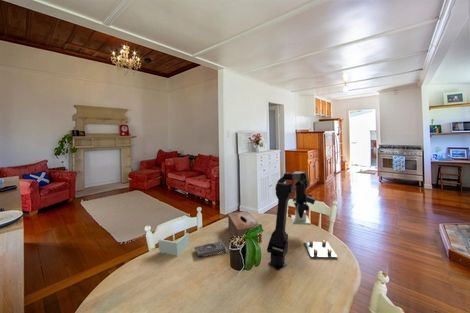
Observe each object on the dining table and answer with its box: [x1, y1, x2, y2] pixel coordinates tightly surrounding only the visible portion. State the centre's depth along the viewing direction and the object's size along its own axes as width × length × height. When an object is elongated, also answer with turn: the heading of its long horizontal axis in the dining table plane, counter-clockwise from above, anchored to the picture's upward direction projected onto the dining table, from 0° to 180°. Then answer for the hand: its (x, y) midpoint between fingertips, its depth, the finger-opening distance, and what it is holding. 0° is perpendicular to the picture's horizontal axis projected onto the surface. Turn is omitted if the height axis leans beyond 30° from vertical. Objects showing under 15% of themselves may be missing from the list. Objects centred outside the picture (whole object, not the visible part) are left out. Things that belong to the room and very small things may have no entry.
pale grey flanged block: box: [290, 209, 312, 226], centre depth 132 cm, size 12×10×6 cm
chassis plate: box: [304, 239, 338, 260], centre depth 116 cm, size 15×13×3 cm
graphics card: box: [194, 238, 229, 257], centre depth 120 cm, size 17×4×12 cm
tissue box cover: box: [227, 210, 263, 243], centre depth 138 cm, size 26×14×10 cm, turn 15°
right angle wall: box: [157, 232, 190, 256], centre depth 123 cm, size 12×12×8 cm
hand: (300, 216), depth 132 cm, fingers closed on pale grey flanged block, 4 cm apart
